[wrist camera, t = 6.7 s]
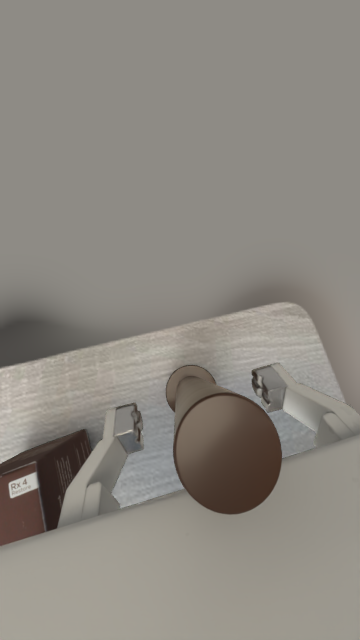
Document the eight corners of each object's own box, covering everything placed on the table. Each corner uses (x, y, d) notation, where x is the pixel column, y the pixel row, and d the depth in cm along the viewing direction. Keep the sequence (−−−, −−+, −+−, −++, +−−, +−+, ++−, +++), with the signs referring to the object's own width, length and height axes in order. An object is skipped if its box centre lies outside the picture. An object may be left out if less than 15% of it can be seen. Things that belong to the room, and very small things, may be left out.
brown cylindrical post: (209, 363, 21) (297, 348, 5) (215, 410, 20) (345, 552, 4) (165, 367, 20) (130, 365, 5) (169, 415, 19) (140, 581, 4)
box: (33, 526, 17) (-69, 638, 10) (22, 450, 19) (-76, 502, 11) (104, 498, 18) (55, 586, 11) (88, 426, 19) (35, 461, 12)
